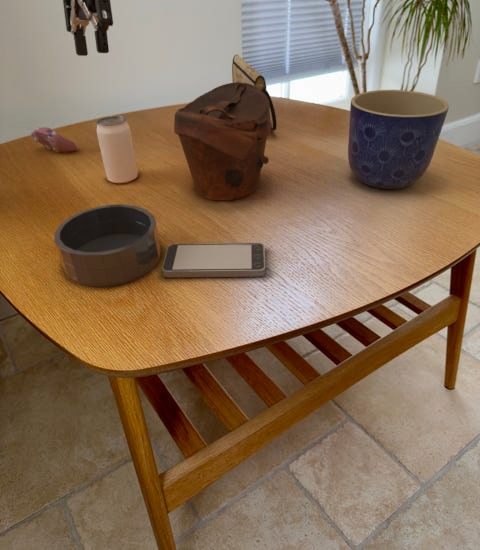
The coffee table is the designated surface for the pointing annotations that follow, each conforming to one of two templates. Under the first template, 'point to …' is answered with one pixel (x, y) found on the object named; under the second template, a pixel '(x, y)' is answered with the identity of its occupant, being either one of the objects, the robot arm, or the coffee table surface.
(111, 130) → the can
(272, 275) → the coffee table surface
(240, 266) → the smartphone
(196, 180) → the case
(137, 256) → the bowl
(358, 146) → the planter
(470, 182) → the coffee table surface
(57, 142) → the raw meat chunk
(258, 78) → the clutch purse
